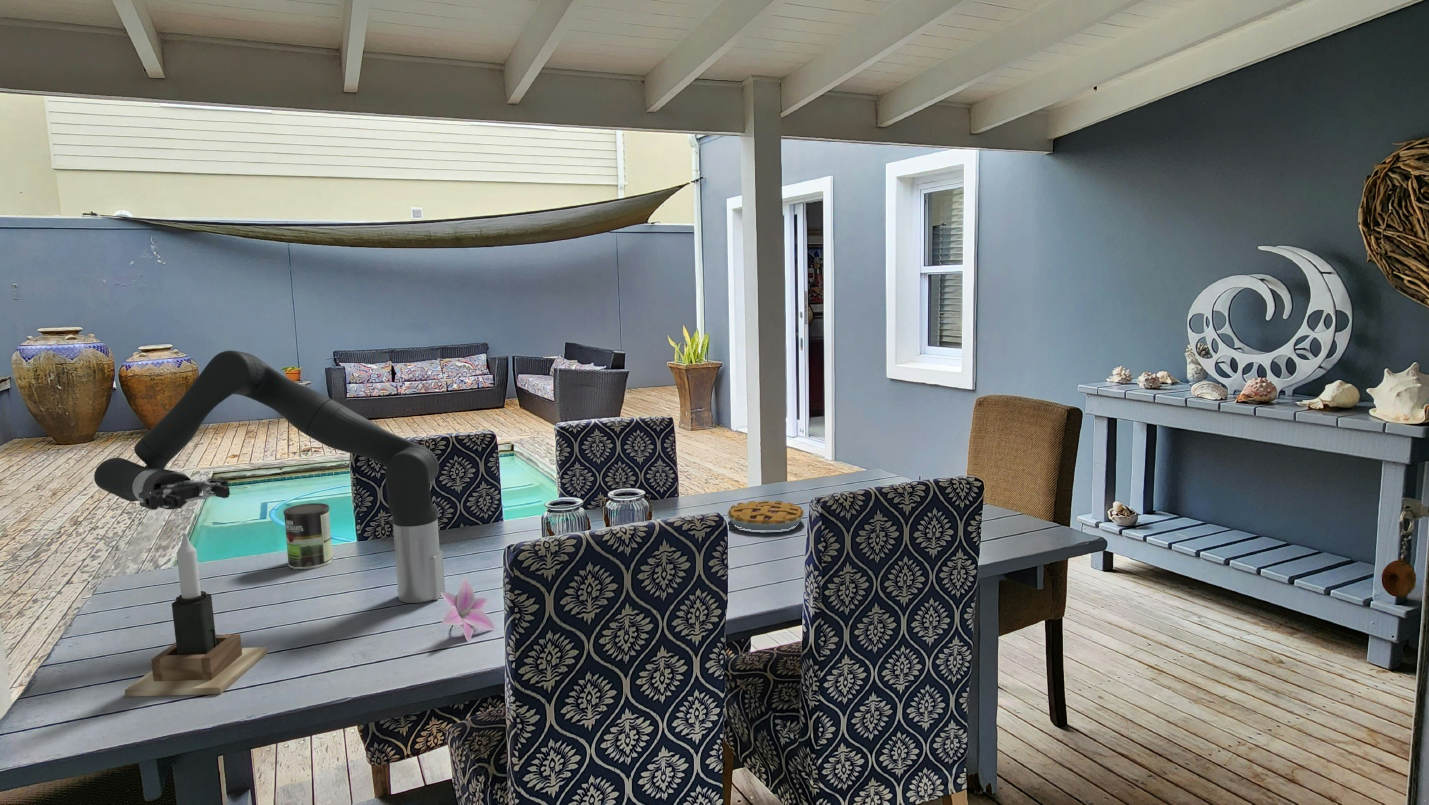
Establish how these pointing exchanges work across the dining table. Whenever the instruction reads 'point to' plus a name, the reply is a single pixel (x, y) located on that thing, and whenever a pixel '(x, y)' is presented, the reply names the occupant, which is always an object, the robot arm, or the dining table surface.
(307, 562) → the coffee can
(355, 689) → the dining table surface
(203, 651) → the candle
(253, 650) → the candle stand
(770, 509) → the pie
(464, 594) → the lily
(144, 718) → the dining table surface
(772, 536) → the dining table surface
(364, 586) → the dining table surface
